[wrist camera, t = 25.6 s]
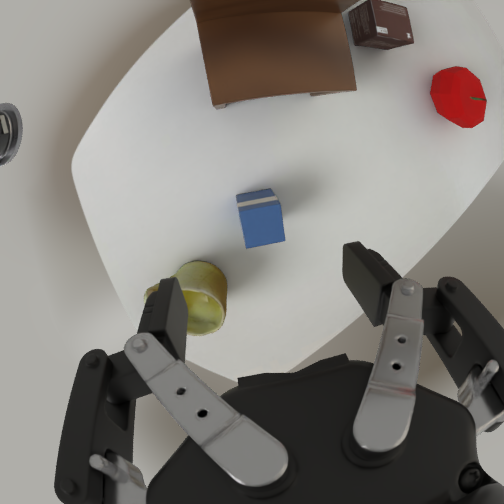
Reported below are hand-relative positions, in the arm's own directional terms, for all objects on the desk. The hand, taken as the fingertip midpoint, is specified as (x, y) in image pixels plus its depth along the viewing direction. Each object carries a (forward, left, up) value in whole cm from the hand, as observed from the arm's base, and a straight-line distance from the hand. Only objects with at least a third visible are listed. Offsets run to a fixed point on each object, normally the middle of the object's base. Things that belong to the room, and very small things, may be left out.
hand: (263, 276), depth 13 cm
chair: (+14, +5, -27) cm, 31 cm away
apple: (+33, -20, -27) cm, 47 cm away
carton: (-3, -6, -27) cm, 28 cm away
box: (+30, -3, -27) cm, 40 cm away
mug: (-19, -4, -27) cm, 34 cm away
